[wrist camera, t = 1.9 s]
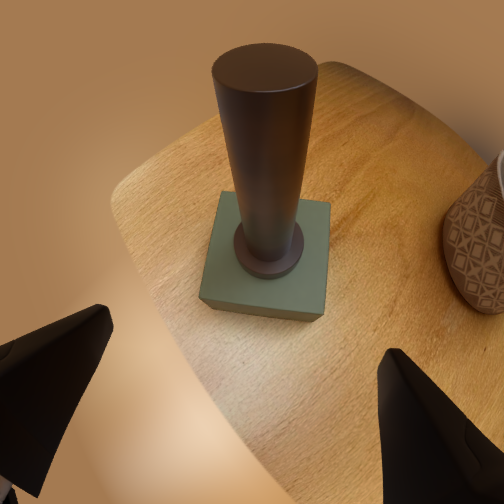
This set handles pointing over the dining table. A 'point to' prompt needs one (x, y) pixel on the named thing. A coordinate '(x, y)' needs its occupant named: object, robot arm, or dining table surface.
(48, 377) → the robot arm
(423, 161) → the dining table surface
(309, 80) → the brown flanged post
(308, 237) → the stand
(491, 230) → the planter
